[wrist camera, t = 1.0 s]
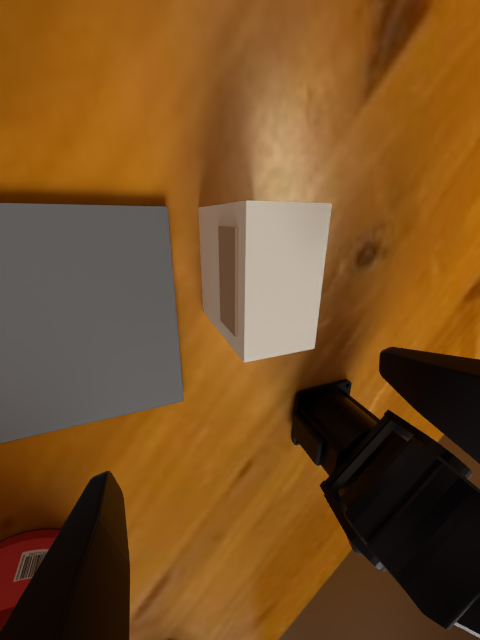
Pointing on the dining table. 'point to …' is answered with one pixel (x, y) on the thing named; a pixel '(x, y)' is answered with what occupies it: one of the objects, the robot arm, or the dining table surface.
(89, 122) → the dining table surface
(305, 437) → the robot arm
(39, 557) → the canned food
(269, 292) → the white upright block
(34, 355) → the mat
